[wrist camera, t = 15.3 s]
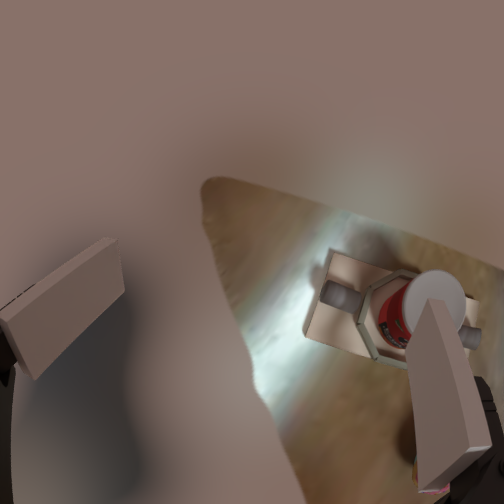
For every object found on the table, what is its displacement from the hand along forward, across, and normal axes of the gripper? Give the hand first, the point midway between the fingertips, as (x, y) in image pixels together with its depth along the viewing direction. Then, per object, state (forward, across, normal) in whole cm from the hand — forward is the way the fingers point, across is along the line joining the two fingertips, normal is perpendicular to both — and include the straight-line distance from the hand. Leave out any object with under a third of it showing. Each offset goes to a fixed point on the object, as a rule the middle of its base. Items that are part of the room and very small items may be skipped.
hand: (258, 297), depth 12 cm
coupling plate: (+25, +15, -17) cm, 34 cm away
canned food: (+24, +15, -16) cm, 33 cm away
